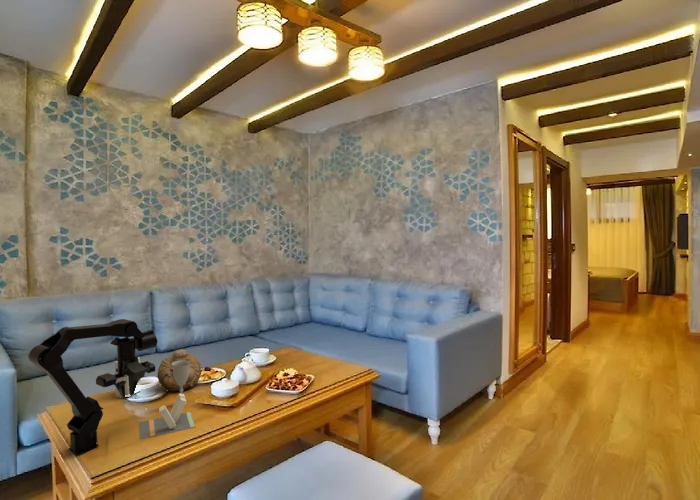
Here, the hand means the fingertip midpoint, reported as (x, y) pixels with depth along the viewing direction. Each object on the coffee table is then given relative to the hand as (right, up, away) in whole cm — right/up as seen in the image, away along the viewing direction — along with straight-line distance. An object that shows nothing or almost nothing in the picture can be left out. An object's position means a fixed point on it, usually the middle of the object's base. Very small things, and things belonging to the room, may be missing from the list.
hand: (127, 396), depth 144 cm
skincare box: (-17, -10, +31) cm, 37 cm away
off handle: (+17, -11, 0) cm, 20 cm away
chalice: (+11, -11, +19) cm, 25 cm away
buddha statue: (+3, -10, +40) cm, 41 cm away
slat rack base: (+14, -12, +2) cm, 18 cm away
